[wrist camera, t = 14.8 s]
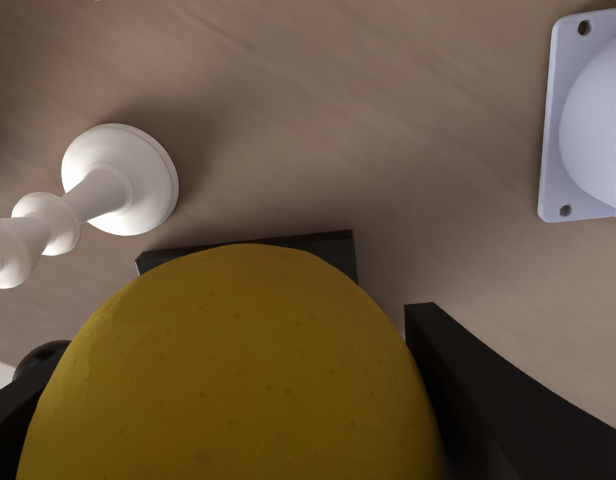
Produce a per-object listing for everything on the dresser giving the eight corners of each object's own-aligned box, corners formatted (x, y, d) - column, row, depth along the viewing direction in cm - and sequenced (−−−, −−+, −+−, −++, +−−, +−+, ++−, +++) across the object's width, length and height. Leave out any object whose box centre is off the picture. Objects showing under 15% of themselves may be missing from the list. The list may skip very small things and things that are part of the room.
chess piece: (135, 102, 17) (-80, 145, 8) (200, 204, 19) (80, 336, 10) (45, 155, 18) (-237, 247, 9) (113, 248, 20) (-69, 405, 11)
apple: (362, 415, 13) (430, 917, 5) (145, 382, 12) (-117, 870, 5) (423, 214, 10) (719, 619, 3) (155, 166, 10) (-343, 478, 2)
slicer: (178, 368, 23) (103, 524, 15) (142, 251, 20) (28, 367, 12) (364, 353, 22) (385, 510, 14) (352, 228, 19) (369, 338, 12)
